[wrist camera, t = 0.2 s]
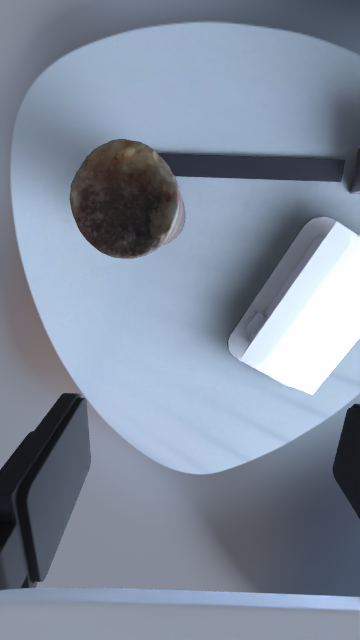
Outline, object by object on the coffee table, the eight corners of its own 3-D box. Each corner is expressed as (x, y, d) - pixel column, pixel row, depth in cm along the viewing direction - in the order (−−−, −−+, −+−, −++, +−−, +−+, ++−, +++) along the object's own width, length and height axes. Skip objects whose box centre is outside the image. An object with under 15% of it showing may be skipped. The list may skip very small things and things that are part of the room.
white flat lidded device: (220, 349, 42) (224, 361, 38) (316, 207, 35) (331, 204, 32) (302, 394, 44) (313, 409, 40) (406, 267, 38) (430, 270, 34)
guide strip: (124, 152, 34) (123, 152, 34) (343, 160, 34) (345, 159, 34) (124, 174, 35) (124, 173, 34) (339, 181, 35) (341, 181, 34)
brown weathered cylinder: (140, 253, 38) (95, 274, 18) (118, 198, 36) (41, 158, 16) (193, 233, 37) (203, 233, 18) (173, 175, 35) (161, 105, 16)
